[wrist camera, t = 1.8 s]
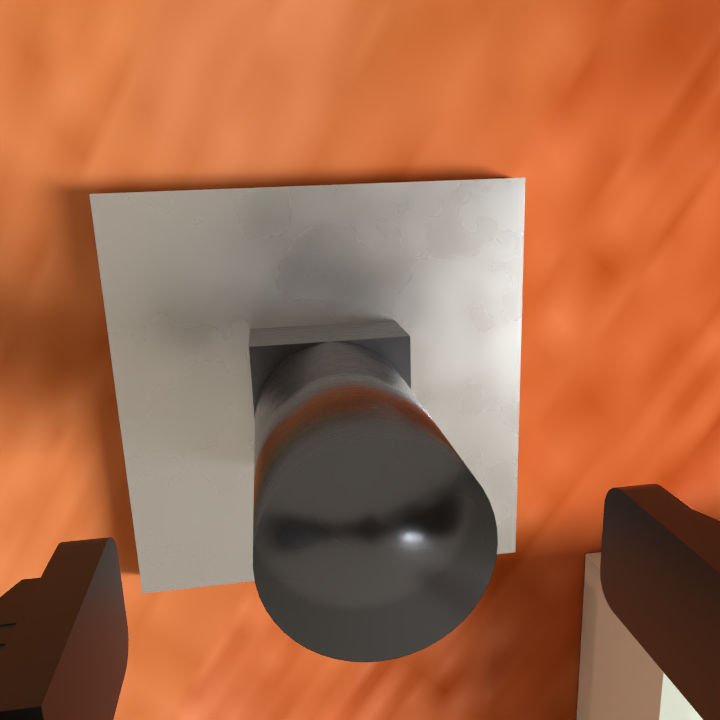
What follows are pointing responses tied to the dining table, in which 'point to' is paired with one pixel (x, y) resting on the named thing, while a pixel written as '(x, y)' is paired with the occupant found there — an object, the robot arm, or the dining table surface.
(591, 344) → the dining table surface
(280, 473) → the dark grey stamp
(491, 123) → the dining table surface
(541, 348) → the dining table surface
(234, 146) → the dining table surface
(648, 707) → the sage bin
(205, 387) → the stud plate
